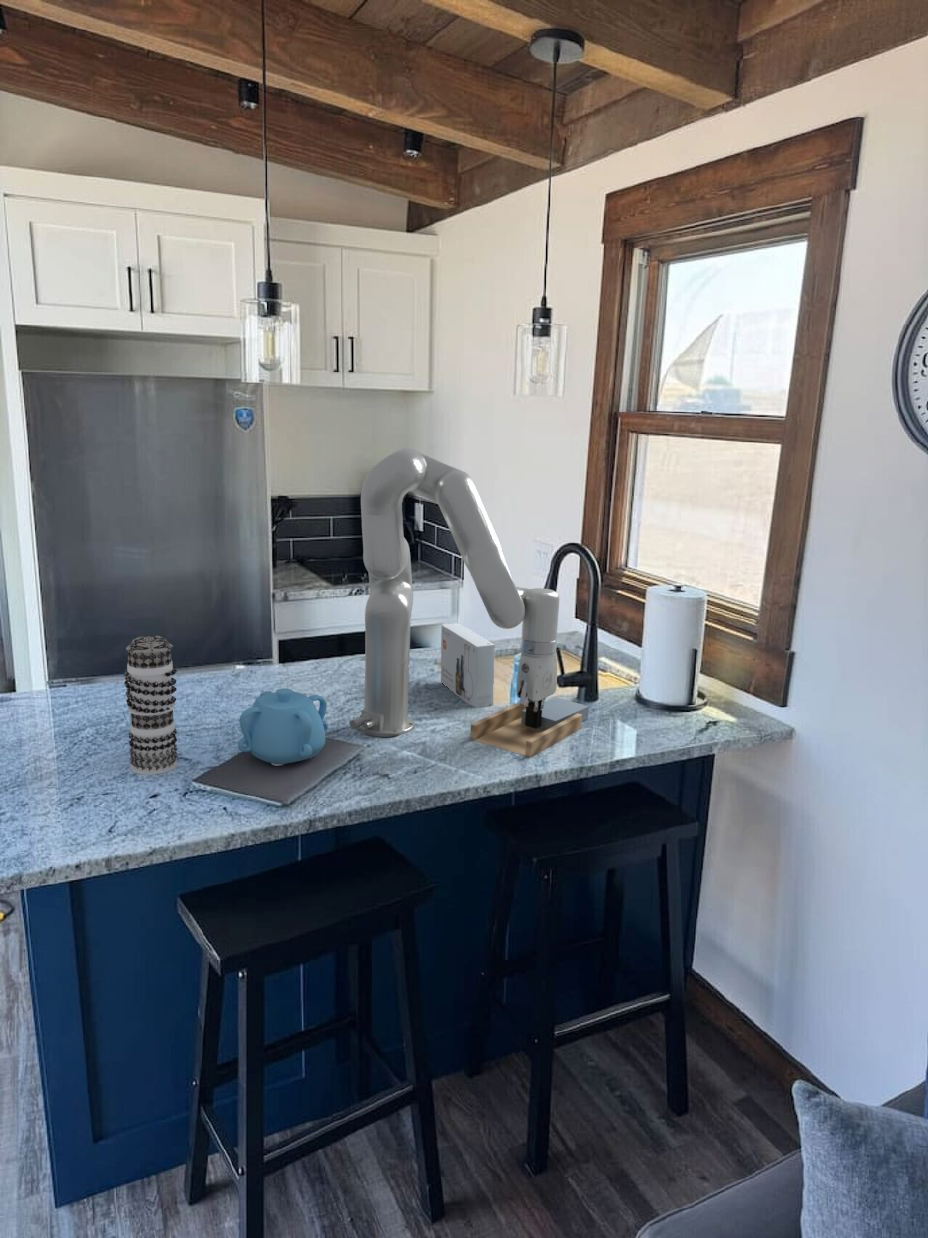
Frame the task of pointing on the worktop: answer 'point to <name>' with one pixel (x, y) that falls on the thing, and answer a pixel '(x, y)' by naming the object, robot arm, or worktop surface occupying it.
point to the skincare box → (467, 664)
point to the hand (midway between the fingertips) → (532, 726)
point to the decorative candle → (151, 705)
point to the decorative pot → (283, 727)
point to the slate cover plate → (558, 712)
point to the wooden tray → (520, 732)
